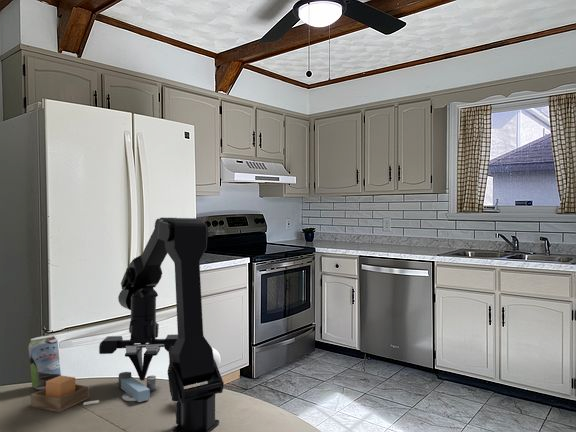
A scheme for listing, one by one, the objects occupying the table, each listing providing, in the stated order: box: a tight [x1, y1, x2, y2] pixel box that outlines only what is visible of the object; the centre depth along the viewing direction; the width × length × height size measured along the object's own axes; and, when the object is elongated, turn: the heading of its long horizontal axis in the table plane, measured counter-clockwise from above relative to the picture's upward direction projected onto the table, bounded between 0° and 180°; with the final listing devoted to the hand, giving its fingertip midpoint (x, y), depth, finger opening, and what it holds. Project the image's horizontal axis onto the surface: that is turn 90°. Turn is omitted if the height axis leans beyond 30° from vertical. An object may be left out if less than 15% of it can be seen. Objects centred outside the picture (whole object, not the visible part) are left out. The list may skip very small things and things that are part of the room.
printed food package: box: [28, 334, 62, 390], centre depth 104 cm, size 6×7×12 cm
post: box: [146, 375, 157, 393], centre depth 102 cm, size 2×2×3 cm
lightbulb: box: [199, 347, 222, 386], centre depth 98 cm, size 6×6×11 cm
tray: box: [30, 383, 90, 413], centre depth 95 cm, size 8×8×3 cm
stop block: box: [45, 375, 76, 398], centre depth 95 cm, size 4×4×4 cm
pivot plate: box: [121, 392, 138, 402], centre depth 98 cm, size 6×6×1 cm
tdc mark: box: [83, 399, 100, 406], centre depth 94 cm, size 3×1×1 cm, turn 115°
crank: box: [117, 371, 151, 403], centre depth 100 cm, size 13×3×3 cm, turn 40°
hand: (142, 380), depth 105 cm, fingers closed
